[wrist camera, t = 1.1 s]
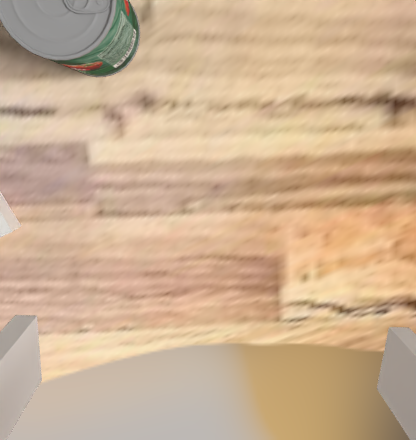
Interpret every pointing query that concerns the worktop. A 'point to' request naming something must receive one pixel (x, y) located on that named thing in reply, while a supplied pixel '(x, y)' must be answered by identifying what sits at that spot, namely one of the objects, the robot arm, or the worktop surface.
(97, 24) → the canned tomato
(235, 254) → the worktop surface
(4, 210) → the rail
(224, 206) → the worktop surface
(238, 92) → the worktop surface
